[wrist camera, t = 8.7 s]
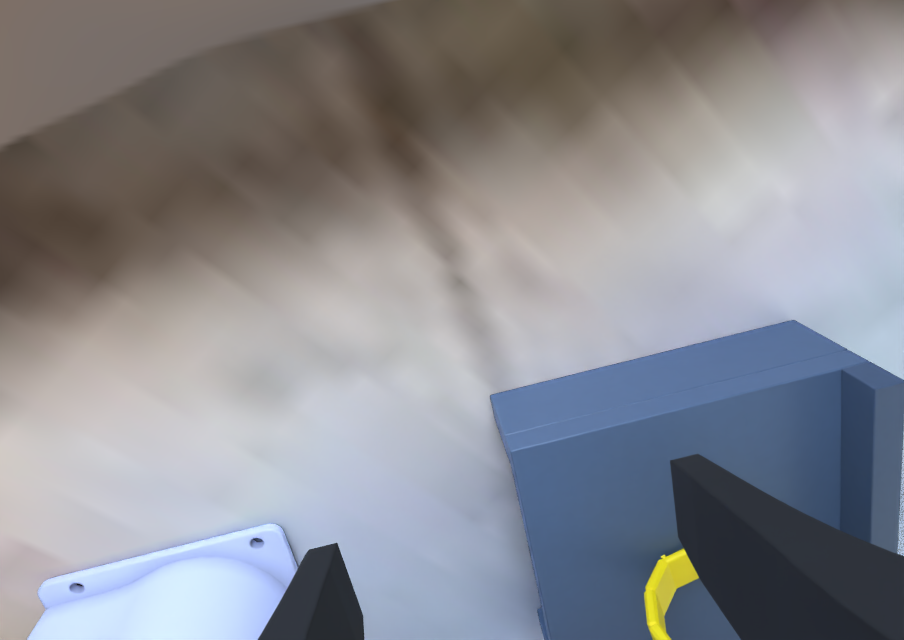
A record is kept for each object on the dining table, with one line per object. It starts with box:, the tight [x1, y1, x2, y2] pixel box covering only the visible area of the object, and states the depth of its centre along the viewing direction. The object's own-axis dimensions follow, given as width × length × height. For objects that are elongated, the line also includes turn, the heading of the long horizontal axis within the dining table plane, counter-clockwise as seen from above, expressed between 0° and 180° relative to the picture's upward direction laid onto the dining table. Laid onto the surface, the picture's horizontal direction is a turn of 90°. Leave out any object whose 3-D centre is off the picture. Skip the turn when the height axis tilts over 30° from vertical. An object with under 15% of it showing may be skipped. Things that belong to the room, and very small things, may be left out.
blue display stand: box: [490, 320, 904, 640], centre depth 23 cm, size 12×12×6 cm
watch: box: [644, 548, 699, 640], centre depth 19 cm, size 6×3×6 cm, turn 111°
